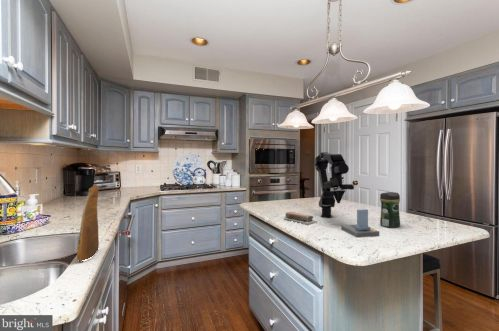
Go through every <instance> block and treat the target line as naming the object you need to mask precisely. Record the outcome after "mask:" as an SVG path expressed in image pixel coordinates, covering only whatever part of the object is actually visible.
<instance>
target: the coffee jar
mask: <svg viewBox="0 0 499 331" xmlns="http://www.w3.org/2000/svg"><path fill="white" fill-rule="evenodd" d="M379 196H380V198H379V200H380V207H381V208H380V221H379V222H380V223H379V224H380V225H381V226H382V227H384V228H391V229H392V228H398V227H400V226H401V218H400V217H401V216H400V201H401V197H400V193H399V192H394V191H388V192H381V193H380V195H379Z"/></svg>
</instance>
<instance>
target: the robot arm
mask: <svg viewBox="0 0 499 331" xmlns="http://www.w3.org/2000/svg"><path fill="white" fill-rule="evenodd" d="M313 161H314V162H313V164H314V167H315V170H316V171H317V172H318V176H319V181H320V187H321V195H320V198H319V201H318V207H319V208H321V215H320V218H329V219H330V218H332V217H333V214H332V208H335V205H336V203H337V204H340V203H341V201H342V198H343V197H344V194H345V192H347V190H355V186H354V184H351V183H350V184H349V183H345V184H343V179H345V178H344V176H343V175H345V174H347V173H348V172H349V170H350V168H349V165H348V164H346V160H345V159H344V156H343V155H342V154H341V153H329V152H327V151H324V152H320V153H319V155H318V156H316V157H315V158H314V160H313ZM329 164H330V167H329V169H330V178H329V179H328V175H327V168H328V166H329Z"/></svg>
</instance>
